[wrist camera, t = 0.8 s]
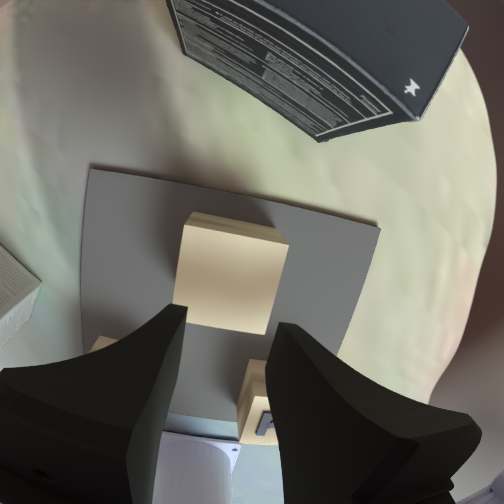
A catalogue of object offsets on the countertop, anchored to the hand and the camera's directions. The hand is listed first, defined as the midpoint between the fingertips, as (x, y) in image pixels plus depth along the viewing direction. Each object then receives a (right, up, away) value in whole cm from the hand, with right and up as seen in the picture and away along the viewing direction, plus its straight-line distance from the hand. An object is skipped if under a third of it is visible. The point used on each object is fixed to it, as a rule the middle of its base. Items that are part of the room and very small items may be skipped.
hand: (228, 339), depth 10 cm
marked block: (+3, -7, +12) cm, 14 cm away
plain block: (-1, +3, +9) cm, 9 cm away
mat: (-2, -2, +10) cm, 11 cm away
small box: (+3, +15, +6) cm, 16 cm away
